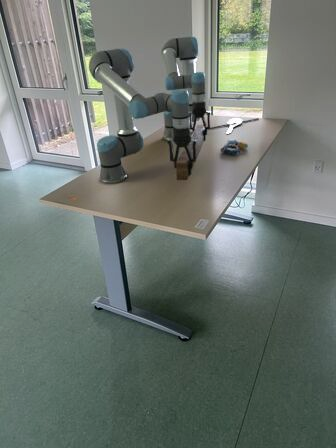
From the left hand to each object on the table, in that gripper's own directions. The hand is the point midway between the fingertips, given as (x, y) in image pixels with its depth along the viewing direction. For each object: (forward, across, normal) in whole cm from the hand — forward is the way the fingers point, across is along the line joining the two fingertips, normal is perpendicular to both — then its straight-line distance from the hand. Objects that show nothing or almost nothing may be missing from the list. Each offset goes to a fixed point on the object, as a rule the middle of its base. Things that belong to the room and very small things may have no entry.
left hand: (184, 174), depth 163 cm
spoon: (+11, +15, +116) cm, 117 cm away
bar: (+1, 0, +27) cm, 27 cm away
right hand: (0, -1, +54) cm, 54 cm away
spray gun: (+10, +20, +63) cm, 67 cm away
